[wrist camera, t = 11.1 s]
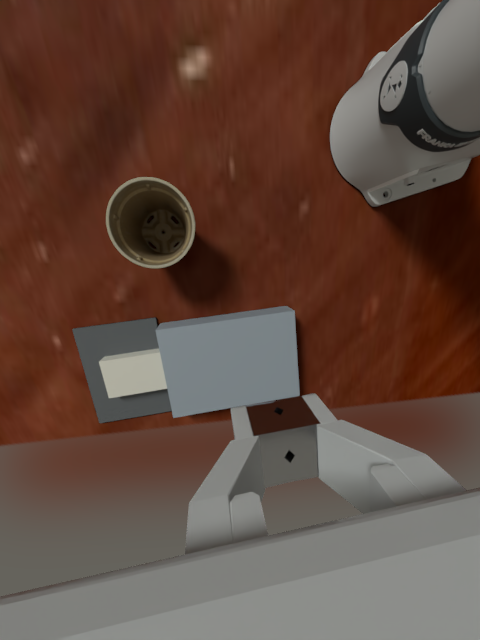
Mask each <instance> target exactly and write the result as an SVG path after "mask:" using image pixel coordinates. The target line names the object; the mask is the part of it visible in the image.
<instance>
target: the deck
mask: <svg viewBox="0 0 480 640" xmlns="http://www.w3.org/2000/svg"><path fill="white" fill-rule="evenodd" d="M155 331H156V336H157V341H158V346H159V350H160V355H161V360H162V365H163V370H164V375H165V380H166V385H167V389H168V394H169V399H170V404H171V409H172V414H173V418H176V417H181V416H187V415H193V414H198V413H204V412H210V411H216V410H221V409H227V408H233V407H239V406H244V405H250V404H256V403H262V402H267V401H273V400H279V399H284V398H290V397H296V396H300V391H299V375H298V358H297V342H296V325H295V311H294V310H293V309H291V308H289V307H287V306H282V307H275V308H267V309H260V310H253V311H246V312H239V313H231V314H224V315H217V316H210V317H202V318H195V319H188V320H181V321H173V322H166V323H160V325H159V326H158V327H157V329H156V330H155Z"/></svg>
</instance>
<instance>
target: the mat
mask: <svg viewBox="0 0 480 640" xmlns="http://www.w3.org/2000/svg"><path fill="white" fill-rule="evenodd" d="M157 327H158V325H157V320H156V318H148V319H141V320H134V321H126V322H119V323H112V324H104V325H97V326H89V327H82V328H75V329H72V330H73V334H74V337H75V340H76V344H77V347H78V351H79V354H80V358H81V361H82V365H83V368H84V371H85V375H86V378H87V382H88V385H89V389H90V392H91V396H92V399H93V403H94V406H95V409H96V413H97V416H98V420H99V423H104V422H110V421H116V420H122V419H128V418H133V417H139V416H145V415H151V414H157V413H163V412H168V411H172V409H171V404H170V399H169V394H168V389H162V390H156V391H150V392H144V393H138V394H132V395H126V396H120V397H114V398H109V397H108V393H107V390H106V386H105V383H104V379H103V375H102V372H101V368H100V365H99V361H100V360H101V359H102V358H103V357H105V356H112V355H119V354H125V353H132V352H138V351H145V350H151V349H158V348H159V346H158V341H157V336H156V331H155V330H156V329H157Z"/></svg>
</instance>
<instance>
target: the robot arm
mask: <svg viewBox="0 0 480 640" xmlns="http://www.w3.org/2000/svg"><path fill="white" fill-rule="evenodd" d="M330 146H331V152H332V156H333V159H334V162H335V164H336V167H337V168H338V170H339V172H340V173H341V175H342V176H343V177H344V178H345V179H346V180H347V181H348V182H349V183H351V184H352V185H353V186H355V187H356V188H358V189H359V190H360V191H361V192H362V194H363V195H364V197H365V199H366V200H367V202H368V203H369V204H370V205H371V206H373V207H377V206H380V205H383V204H386V203H389V202H392V201H395V200H398V199H401V198H404V197H408V196H411V195H414V194H417V193H420V192H423V191H426V190H429V189H432V188H435V187H438V186H441V185H444V184H447V183H450V182H453V181H455V180H458V179H460V178H461V177H462V176H463V175H464V173H465V171H466V169H467V168H468V165H469V163H470V161H471V158H473V157H476V156H478V155H480V0H443V1H442V2H441V3H439V4H438V5H437V6H436V7H434V8H433V9H432V10H431V11H430V13H429V14H428V15H427V16H426V17H425V18H424V20H422V21H420V22H418V23H417V24H416V25H415V26H414V27H413V28H411V29H410V30H409V31H408V32H407V33H406V34H405V35H404V36H403V37H402V38H401V39H400V40H399V41H398V42H397V43H396V44H395V45H394V46H393V47H392V48H391V49H390V50H389V51H388V52H380V53H378V54H377V55H376V56H375V57H374V58H373V59H372V60H371V61H370V63H369V65H368V66H367V68H366V70H365V72H364V74H363V76H362V78H361V79H360V80H359V81H358V82H357V83H356V84H355V85H354V86H352V87H351V88H350V89H349V90H348V91H347V92H346V94H345V95H344V96H343V97H342V99H341V100H340V102H339V104H338V106H337V108H336V110H335V113H334V116H333V119H332V123H331V129H330ZM383 193H385V197H384V196H383ZM231 416H232V423H233V431H234V438H235V440H232V441H230V443H229V444H228V446H227V447H226V449H225V450H224V452H223V453H222V455H221V457H220V458H219V459H218V461H217V462H216V464H215V465H214V467H213V469H212V470H211V471H210V473H209V474H208V476H207V477H206V479H205V480H204V482H203V483H202V485H201V486H200V488H199V489H198V491H197V492H196V494H195V495H194V497H193V498H192V500H191V501H190V503H189V512H188V524H187V537H186V548H185V555H181V556H176V557H173V558H168V559H163V560H159V561H155V562H150V563H146V564H141V565H137V566H133V567H128V568H124V569H119V570H115V571H111V572H106V573H102V574H97V575H93V576H89V577H85V578H80V579H75V580H71V581H67V582H62V583H58V584H54V585H49V586H45V587H40V588H36V589H32V590H27V591H23V592H18V593H14V594H10V595H5V596H1V597H0V640H480V488H476V489H471V490H466V489H465V488H464V487H463V486H461V485H460V484H459V483H458V482H457V481H456V480H455V479H454V478H452V477H451V476H450V475H449V474H448V473H447V472H446V471H444V470H443V469H442V468H441V467H440V466H439V465H438V464H437V463H436V462H434V461H433V460H432V459H431V458H430V457H429V456H428V455H427V454H424V453H422V452H419V451H417V450H415V449H412V448H410V447H407V446H405V445H402V444H400V443H398V442H395V441H392V440H390V439H388V438H385V437H383V436H380V435H378V434H376V433H373V432H371V431H368V430H366V429H363V428H361V427H358V426H356V425H353V424H351V423H349V422H346V421H344V420H339V421H338V420H337V419H336V418H335V416H334V415H333V414H332V413H331V412H330V410H329V409H328V408H327V407H326V406H325V404H324V403H323V402H322V401H321V400H320V398H319V397H318V396H317V395H316V394H314V393H313V394H309V395H304V396H300V397H295V398H290V399H285V400H280V401H275V402H274V401H272V402H266V403H259V404H253V405H246V406H240V407H234V408H231ZM314 477H319V478H320V479H321V480H322V481H323V482H324V483H326V484H327V485H328V486H329V487H331V488H332V489H333V490H334V491H336V492H337V493H338V494H339V495H341V496H342V497H343V498H344V499H345V500H347V501H348V502H349V503H350V504H352V505H353V506H354V507H355V508H357V509H358V510H359V511H360V512H362V513H363V514H361V515H356V516H352V517H348V518H343V519H339V520H335V521H330V522H326V523H321V524H317V525H313V526H308V527H304V528H299V529H295V530H291V531H286V532H282V533H278V534H273V535H269V536H268V532H267V527H266V523H265V519H264V514H263V510H262V506H261V501H262V498H263V495H264V492H265V488H267V487H270V486H275V485H279V484H283V483H287V482H291V481H297V480H303V479H309V478H314Z"/></svg>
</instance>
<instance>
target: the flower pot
mask: <svg viewBox="0 0 480 640" xmlns="http://www.w3.org/2000/svg"><path fill="white" fill-rule="evenodd" d="M152 215H153V216H154V219H152V220H151V221H150V223H147V222H148V220H149V218H150V217H151V216H152ZM172 216H174V217H175V218H176V219H177V221H178V222H179V223H178V224H176V223H175V222H174V221H173V220H172V219H171V217H172ZM106 226H107V231H108V234H109V237H110V239H111V241H112V243H113V244H114V246H115V247H116V249H117V250H118V251H119V252H120V253H121V254H122V255H123V256H124V257H125V258H127V259H128V260H130V261H131V262H133V263H135V264H137V265H139V266H143V267H147V268H164V267H168V266H170V265H173V264H175V263H176V262H178V261H179V260H181V259H182V258H183V257H184V256H185V255H186V254H187V252H188V251H189V249H190V247H191V245H192V243H193V240H194V236H195V219H194V214H193V211H192V209H191V206H190V204H189V203H188V201H187V199H186V198H185V197H184V195H183V194H182V193H181V192H180V191H179V190H178V189H177V188H176V187H174V186H173V185H171V184H170V183H168V182H166V181H163V180H161V179H158V178H154V177H139V178H135V179H132V180H129V181H127V182H126V183H124V184H123V185H121V186H120V187H119V188H118V189H117V190H116V191H115V193H114V194H113V196H112V197H111V199H110V201H109V204H108V207H107V211H106ZM162 231H165V233H164V234H163V233H162ZM149 242H151V243H152V244H153V245H154V246H155V247H156V249H154V248H152V247H151V246H150V245H149ZM177 242H179V244H178V245H177V246H176V247H173V246H174V245H175V243H177Z"/></svg>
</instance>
